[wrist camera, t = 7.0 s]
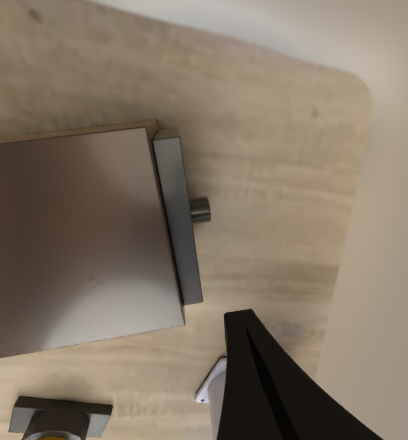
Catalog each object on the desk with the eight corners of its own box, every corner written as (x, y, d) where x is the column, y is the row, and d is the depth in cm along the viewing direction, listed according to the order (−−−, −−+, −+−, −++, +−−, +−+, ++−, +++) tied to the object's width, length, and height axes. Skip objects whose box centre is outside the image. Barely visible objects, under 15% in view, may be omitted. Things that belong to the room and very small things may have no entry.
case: (157, 119, 15) (146, 125, 9) (180, 252, 20) (185, 325, 13) (-28, 140, 15) (-201, 166, 8) (41, 274, 19) (-31, 364, 12)
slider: (195, 125, 15) (208, 132, 10) (209, 247, 19) (223, 298, 14) (6, 147, 14) (-89, 169, 9) (62, 270, 18) (19, 334, 13)
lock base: (114, 402, 28) (108, 434, 25) (101, 430, 30) (94, 462, 27) (19, 393, 25) (1, 427, 22) (12, 424, 27) (-5, 459, 24)
